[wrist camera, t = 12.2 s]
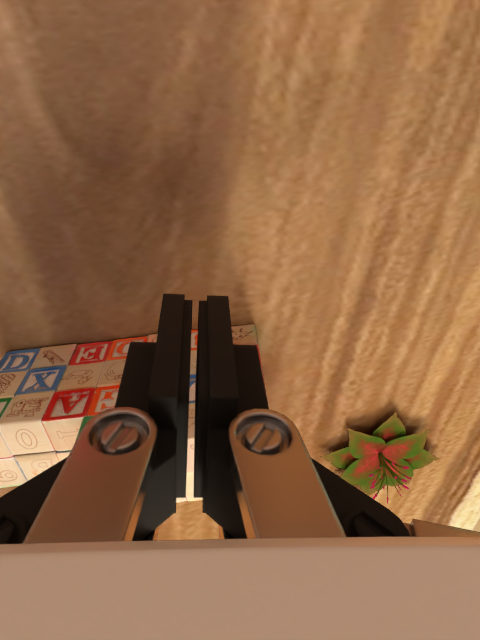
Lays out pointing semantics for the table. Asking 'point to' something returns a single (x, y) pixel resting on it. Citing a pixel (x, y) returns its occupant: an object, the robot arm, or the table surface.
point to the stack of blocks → (71, 401)
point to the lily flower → (382, 457)
